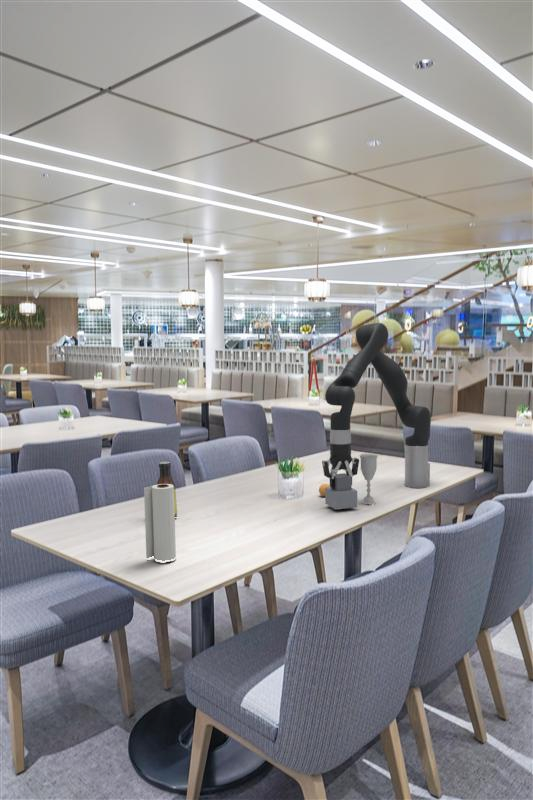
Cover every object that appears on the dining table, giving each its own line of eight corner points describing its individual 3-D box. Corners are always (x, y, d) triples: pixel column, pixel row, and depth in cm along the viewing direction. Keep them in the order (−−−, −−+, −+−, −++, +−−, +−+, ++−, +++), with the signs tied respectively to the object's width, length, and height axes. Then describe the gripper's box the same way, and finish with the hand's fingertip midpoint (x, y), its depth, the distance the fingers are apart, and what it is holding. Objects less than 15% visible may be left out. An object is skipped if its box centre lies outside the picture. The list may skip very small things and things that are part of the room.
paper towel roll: (180, 558, 175) (177, 483, 173) (168, 565, 170) (166, 488, 168) (158, 555, 178) (156, 481, 176) (146, 562, 172) (143, 486, 170)
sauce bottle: (180, 517, 216) (178, 461, 214) (172, 522, 210) (170, 464, 208) (163, 515, 218) (161, 460, 216) (154, 520, 212) (153, 463, 210)
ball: (328, 494, 245) (328, 481, 244) (333, 497, 240) (333, 484, 240) (316, 495, 243) (316, 483, 243) (322, 498, 238) (321, 485, 238)
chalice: (377, 506, 226) (377, 457, 225) (358, 505, 228) (358, 457, 226) (378, 501, 234) (378, 454, 232) (359, 500, 235) (359, 453, 233)
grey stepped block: (346, 501, 229) (346, 472, 228) (357, 507, 221) (357, 476, 220) (325, 503, 227) (325, 474, 226) (335, 509, 219) (335, 479, 217)
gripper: (353, 438, 227) (354, 483, 229) (317, 441, 223) (318, 487, 225) (363, 441, 220) (363, 488, 222) (326, 444, 216) (327, 492, 217)
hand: (340, 487), depth 223 cm, fingers closed on grey stepped block, 5 cm apart
